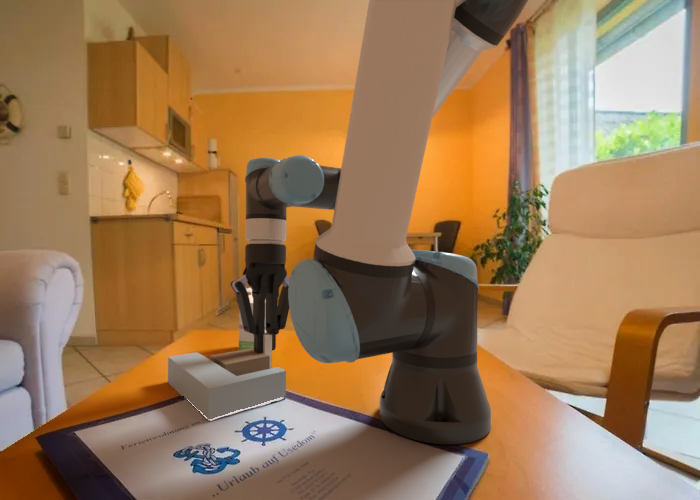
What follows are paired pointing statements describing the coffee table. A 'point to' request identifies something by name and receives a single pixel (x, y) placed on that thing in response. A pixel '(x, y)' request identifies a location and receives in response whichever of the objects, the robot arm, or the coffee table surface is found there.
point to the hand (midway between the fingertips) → (264, 368)
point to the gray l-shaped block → (222, 385)
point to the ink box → (245, 337)
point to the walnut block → (242, 361)
